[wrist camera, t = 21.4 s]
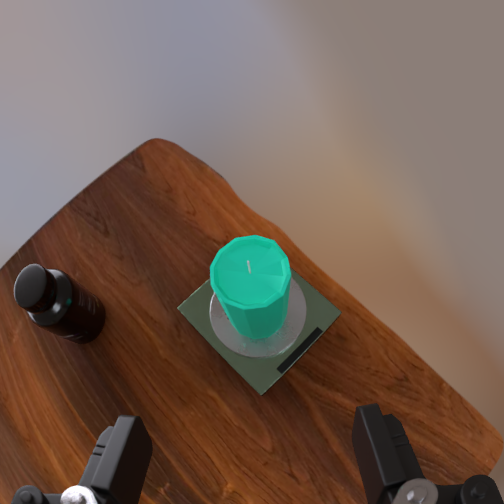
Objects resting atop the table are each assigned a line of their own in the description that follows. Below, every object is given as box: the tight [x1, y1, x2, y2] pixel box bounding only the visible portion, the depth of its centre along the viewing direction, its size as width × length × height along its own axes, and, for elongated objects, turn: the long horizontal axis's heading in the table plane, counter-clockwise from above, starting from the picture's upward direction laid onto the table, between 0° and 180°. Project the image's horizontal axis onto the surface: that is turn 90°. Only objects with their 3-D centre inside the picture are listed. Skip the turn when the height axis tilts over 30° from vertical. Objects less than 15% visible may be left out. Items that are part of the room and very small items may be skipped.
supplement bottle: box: [14, 264, 105, 344], centre depth 32 cm, size 7×7×12 cm
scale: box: [177, 268, 342, 396], centre depth 34 cm, size 13×12×3 cm
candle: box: [210, 235, 291, 339], centre depth 28 cm, size 6×6×12 cm
